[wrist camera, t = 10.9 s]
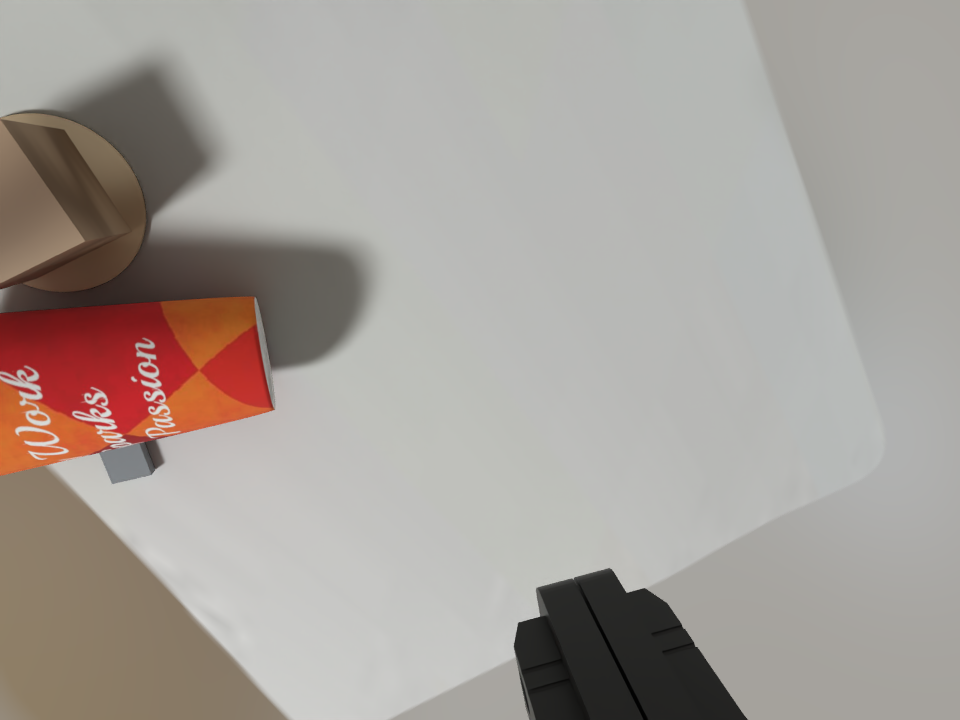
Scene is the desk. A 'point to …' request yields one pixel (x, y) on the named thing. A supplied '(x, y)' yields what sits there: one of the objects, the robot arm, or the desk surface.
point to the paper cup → (126, 375)
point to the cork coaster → (121, 192)
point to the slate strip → (128, 462)
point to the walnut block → (48, 203)
